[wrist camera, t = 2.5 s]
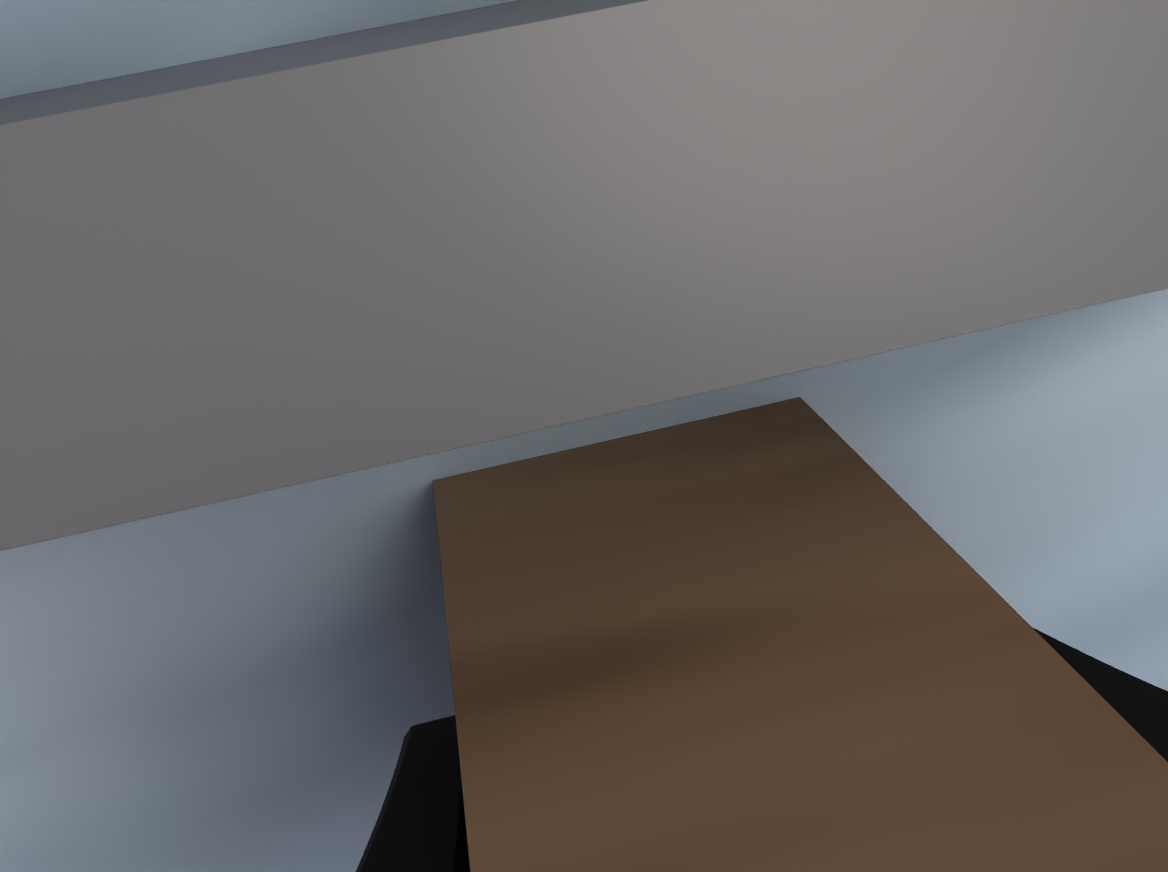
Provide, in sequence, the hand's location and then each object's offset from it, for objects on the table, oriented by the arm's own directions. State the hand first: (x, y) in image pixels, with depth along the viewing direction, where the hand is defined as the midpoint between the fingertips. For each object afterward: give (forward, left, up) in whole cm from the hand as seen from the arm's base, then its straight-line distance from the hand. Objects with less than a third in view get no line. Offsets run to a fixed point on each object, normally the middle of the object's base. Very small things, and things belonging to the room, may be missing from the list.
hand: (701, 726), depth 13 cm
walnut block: (0, 0, -3) cm, 3 cm away
